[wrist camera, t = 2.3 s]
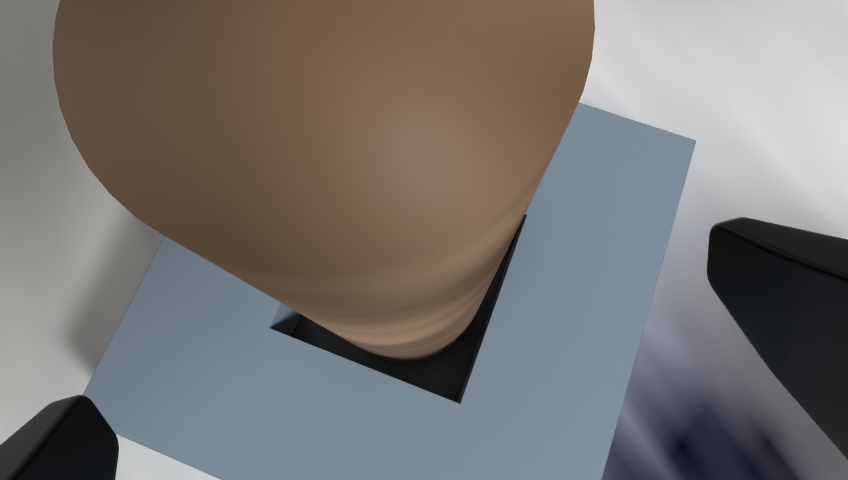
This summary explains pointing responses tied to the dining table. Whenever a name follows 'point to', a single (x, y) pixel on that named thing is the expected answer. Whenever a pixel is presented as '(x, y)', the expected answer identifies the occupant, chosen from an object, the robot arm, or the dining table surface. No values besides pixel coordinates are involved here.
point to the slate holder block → (395, 399)
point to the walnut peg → (330, 142)
